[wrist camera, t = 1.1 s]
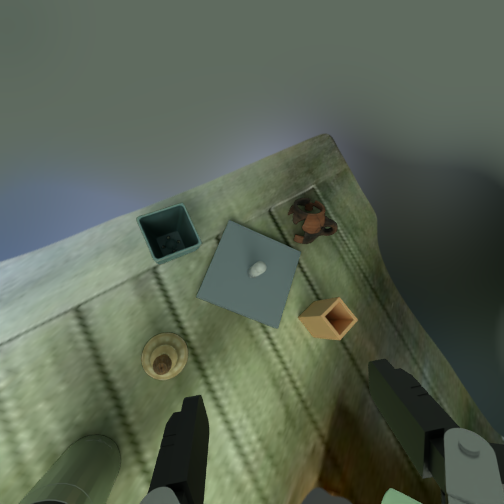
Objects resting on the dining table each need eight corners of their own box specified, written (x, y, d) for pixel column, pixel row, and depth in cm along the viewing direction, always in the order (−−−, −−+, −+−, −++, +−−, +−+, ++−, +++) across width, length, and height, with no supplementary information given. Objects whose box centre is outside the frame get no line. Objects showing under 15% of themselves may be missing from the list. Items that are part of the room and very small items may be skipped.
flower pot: (158, 272, 52) (154, 262, 44) (141, 233, 54) (134, 217, 45) (199, 256, 55) (202, 244, 47) (182, 219, 57) (183, 201, 48)
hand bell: (162, 323, 50) (156, 323, 35) (197, 349, 51) (204, 359, 36) (131, 362, 47) (109, 379, 32) (168, 389, 48) (163, 418, 33)
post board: (275, 328, 56) (290, 329, 48) (196, 297, 53) (199, 292, 45) (298, 253, 62) (315, 243, 54) (228, 222, 59) (235, 207, 51)
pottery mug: (281, 241, 62) (288, 213, 56) (285, 218, 69) (292, 191, 63) (331, 253, 61) (344, 225, 55) (330, 228, 68) (342, 202, 62)
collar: (329, 320, 59) (357, 320, 50) (313, 337, 57) (339, 340, 48) (314, 301, 60) (339, 296, 50) (297, 317, 58) (320, 316, 48)
